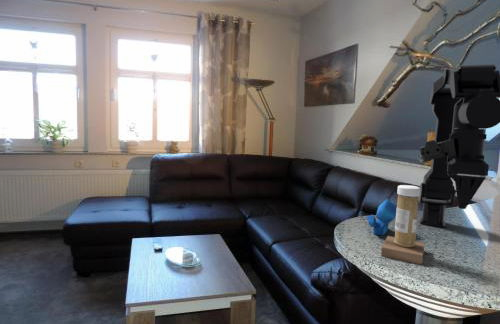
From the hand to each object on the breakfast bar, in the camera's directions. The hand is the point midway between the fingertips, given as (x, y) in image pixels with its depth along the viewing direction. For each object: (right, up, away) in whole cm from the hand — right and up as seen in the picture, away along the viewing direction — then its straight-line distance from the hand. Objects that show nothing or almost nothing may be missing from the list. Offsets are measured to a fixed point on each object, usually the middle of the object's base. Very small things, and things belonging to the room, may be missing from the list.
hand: (460, 204), depth 68 cm
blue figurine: (-8, -11, +21) cm, 25 cm away
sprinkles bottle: (-9, -10, +7) cm, 15 cm away
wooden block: (-9, -12, +6) cm, 16 cm away
